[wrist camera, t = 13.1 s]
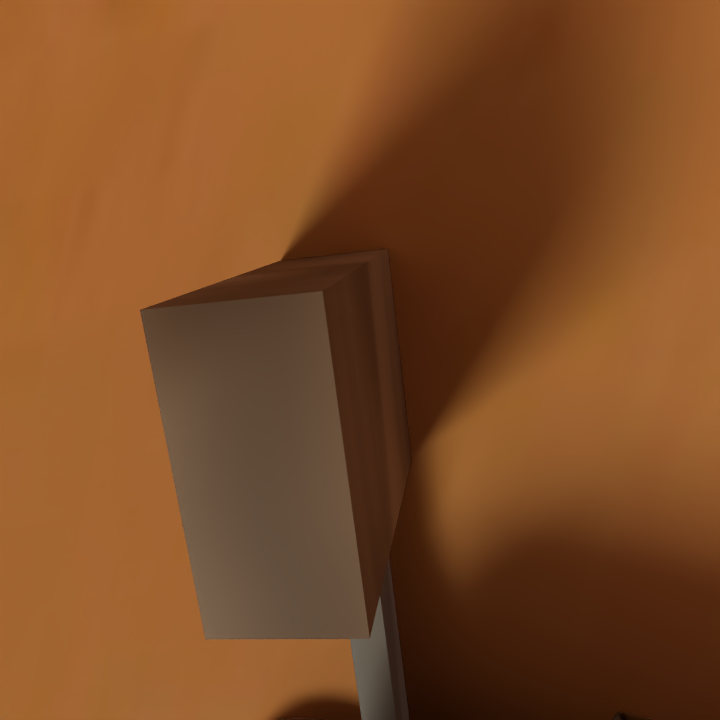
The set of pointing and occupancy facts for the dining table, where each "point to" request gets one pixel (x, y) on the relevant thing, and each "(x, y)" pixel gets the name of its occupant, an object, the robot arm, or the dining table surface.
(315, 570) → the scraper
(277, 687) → the dining table surface
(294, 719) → the steel token
